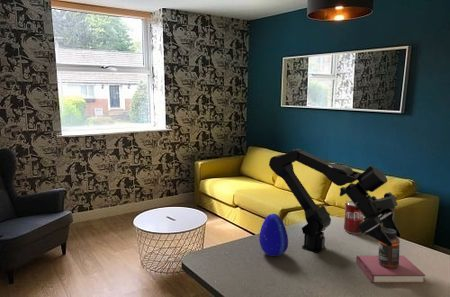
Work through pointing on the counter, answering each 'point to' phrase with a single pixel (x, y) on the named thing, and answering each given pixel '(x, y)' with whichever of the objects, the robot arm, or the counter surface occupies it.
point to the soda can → (352, 218)
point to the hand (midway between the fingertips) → (395, 240)
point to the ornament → (273, 236)
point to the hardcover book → (389, 271)
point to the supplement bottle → (389, 250)
